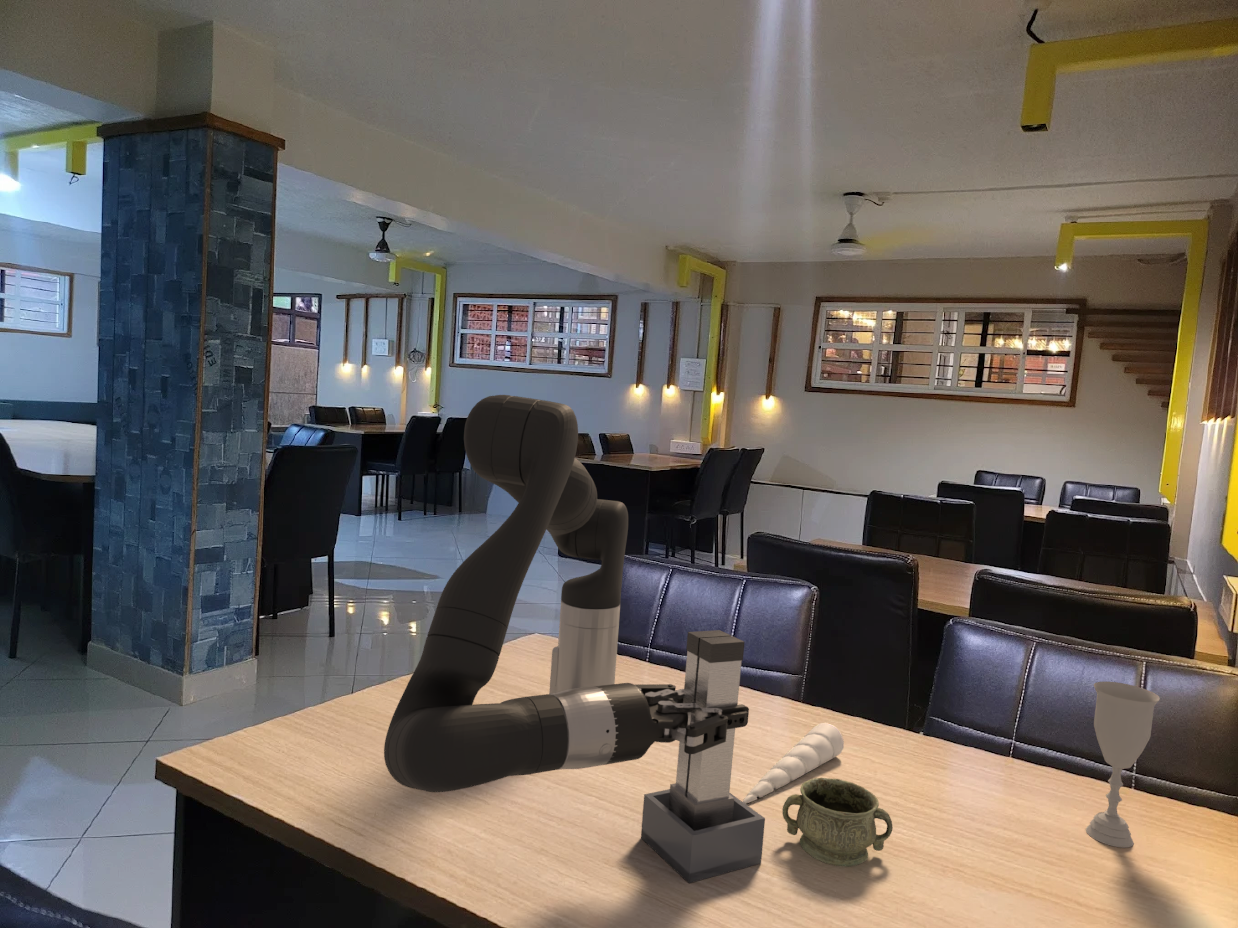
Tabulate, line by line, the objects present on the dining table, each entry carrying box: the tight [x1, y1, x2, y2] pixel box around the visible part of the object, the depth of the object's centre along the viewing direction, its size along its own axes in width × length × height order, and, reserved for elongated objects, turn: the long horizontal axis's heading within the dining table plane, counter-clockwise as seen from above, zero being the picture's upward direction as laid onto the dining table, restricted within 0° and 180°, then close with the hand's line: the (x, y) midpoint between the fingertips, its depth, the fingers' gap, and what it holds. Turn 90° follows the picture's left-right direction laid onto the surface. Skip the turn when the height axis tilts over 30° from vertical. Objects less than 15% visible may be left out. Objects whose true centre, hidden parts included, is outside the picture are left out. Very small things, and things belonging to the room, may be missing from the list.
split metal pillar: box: [668, 629, 746, 831], centre depth 88 cm, size 5×5×20 cm
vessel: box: [781, 777, 893, 867], centre depth 92 cm, size 12×9×6 cm
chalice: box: [1085, 680, 1161, 848], centre depth 98 cm, size 7×7×18 cm
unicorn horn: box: [742, 722, 845, 805], centre depth 109 cm, size 5×24×5 cm, turn 136°
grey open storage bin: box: [640, 788, 766, 884], centre depth 89 cm, size 9×9×5 cm
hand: (731, 706), depth 89 cm, fingers closed on split metal pillar, 4 cm apart
